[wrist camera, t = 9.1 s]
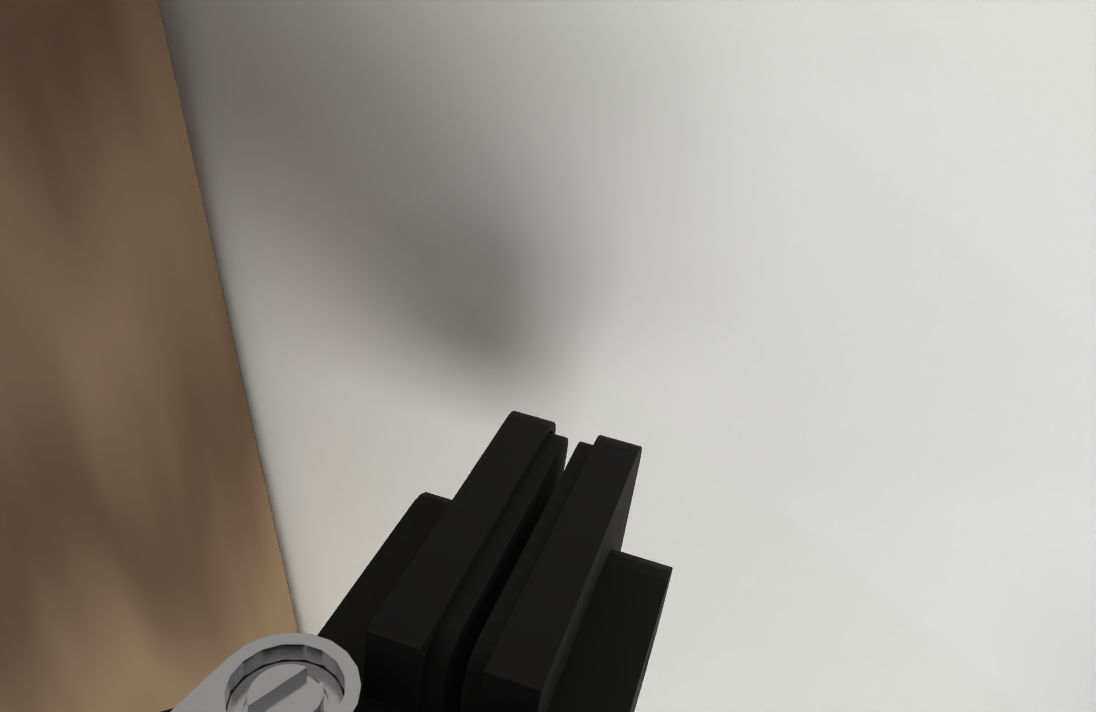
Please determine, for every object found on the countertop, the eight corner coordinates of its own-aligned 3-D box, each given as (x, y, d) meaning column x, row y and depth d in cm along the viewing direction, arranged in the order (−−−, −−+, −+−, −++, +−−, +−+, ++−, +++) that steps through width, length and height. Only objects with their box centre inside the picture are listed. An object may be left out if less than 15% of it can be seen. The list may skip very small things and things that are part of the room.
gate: (333, 737, 20) (57, 1185, 13) (259, 719, 21) (-41, 1143, 14) (109, -311, 11) (-977, -533, 5) (-7, -297, 12) (-1136, -479, 5)
